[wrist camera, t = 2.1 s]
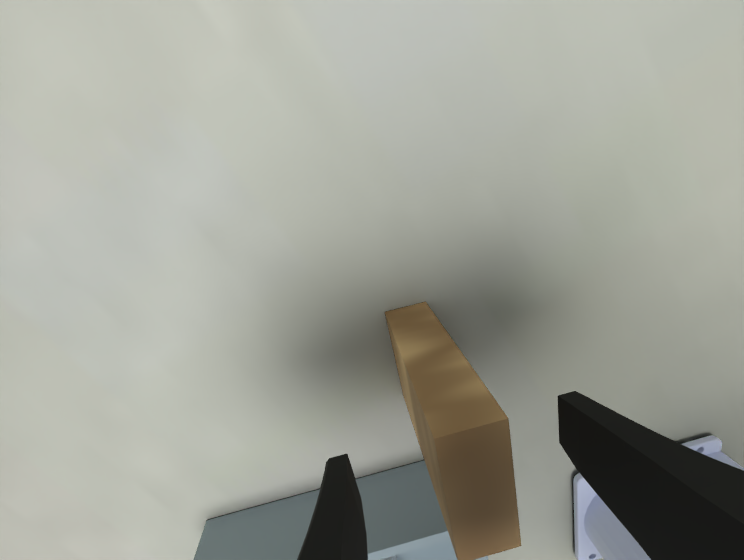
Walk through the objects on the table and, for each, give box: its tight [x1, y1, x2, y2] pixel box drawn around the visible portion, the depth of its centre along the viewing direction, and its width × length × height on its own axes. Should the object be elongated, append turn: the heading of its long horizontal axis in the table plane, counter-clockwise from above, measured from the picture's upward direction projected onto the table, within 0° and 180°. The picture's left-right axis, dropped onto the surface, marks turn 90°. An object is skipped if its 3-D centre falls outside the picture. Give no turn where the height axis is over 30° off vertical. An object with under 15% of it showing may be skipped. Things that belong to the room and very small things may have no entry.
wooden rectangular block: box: [385, 302, 521, 560], centre depth 14 cm, size 2×5×8 cm, turn 13°
